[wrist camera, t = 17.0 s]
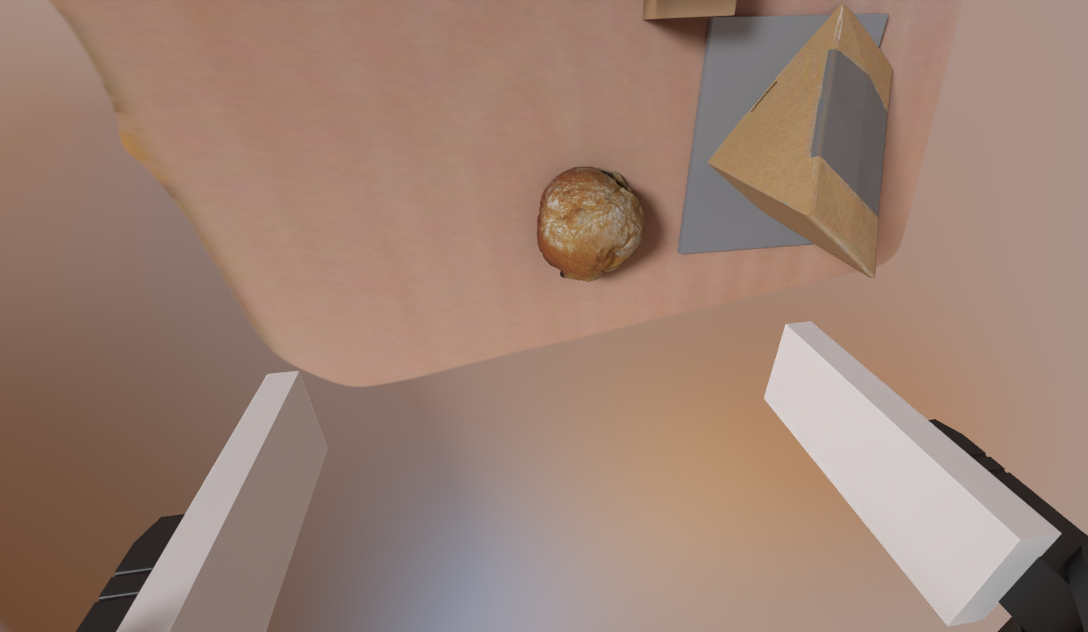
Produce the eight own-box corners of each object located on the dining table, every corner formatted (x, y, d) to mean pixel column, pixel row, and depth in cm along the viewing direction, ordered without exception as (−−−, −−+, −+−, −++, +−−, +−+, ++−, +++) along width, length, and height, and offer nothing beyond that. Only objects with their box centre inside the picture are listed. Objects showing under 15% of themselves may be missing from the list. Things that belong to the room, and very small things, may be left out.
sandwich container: (895, 70, 41) (1091, 88, 28) (762, 212, 46) (875, 282, 33) (842, -2, 37) (1037, -20, 24) (704, 161, 42) (806, 216, 30)
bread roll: (633, 193, 48) (676, 180, 40) (607, 291, 48) (644, 297, 40) (543, 161, 45) (570, 140, 37) (515, 265, 45) (537, 266, 37)
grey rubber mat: (710, 17, 37) (713, 17, 37) (883, 13, 39) (889, 13, 38) (677, 251, 47) (679, 254, 47) (815, 241, 49) (818, 243, 49)
